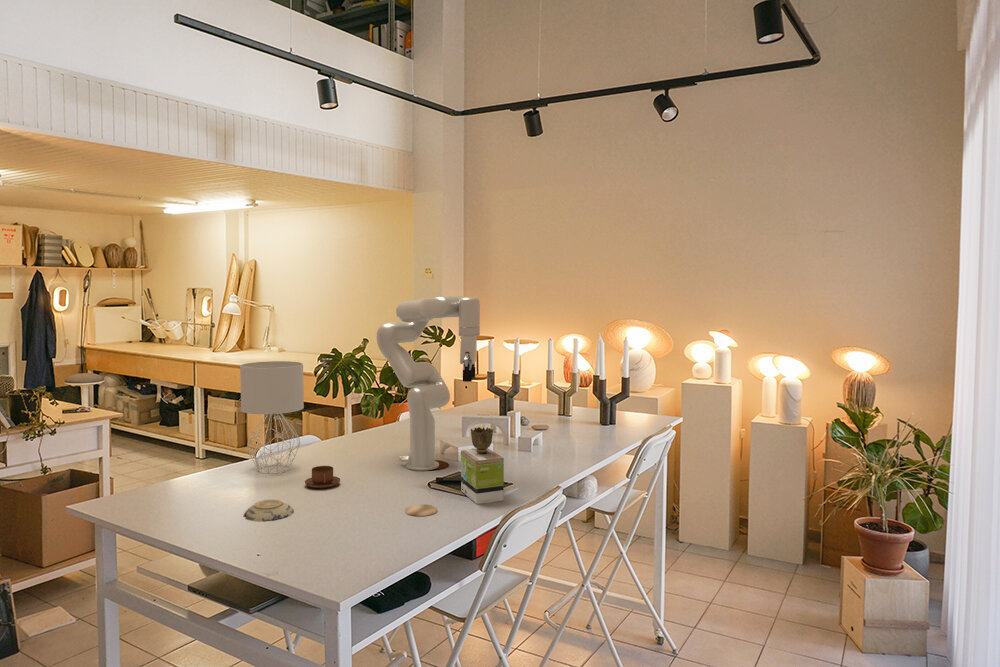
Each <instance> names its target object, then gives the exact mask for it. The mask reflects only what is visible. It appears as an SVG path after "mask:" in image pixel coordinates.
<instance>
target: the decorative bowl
mask: <svg viewBox="0 0 1000 667" xmlns="http://www.w3.org/2000/svg"><path fill="white" fill-rule="evenodd" d="M294 513H295V512H294V509H293V507H292V506H291V505H290V504H288V503H286V502H283V501H282V500H280V499H263V500H260V501H257V502H255V503H254V504H252V506H249V507H248V508H247V509H246V510H245V512H244V514H243V515H242V516H243V517H244V518H245V520H248V521H251V522H259V523H262V522H274V521H279V520H283V519H286V518H288V517H291V516H292V515H293V514H294Z"/></svg>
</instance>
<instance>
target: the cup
mask: <svg viewBox="0 0 1000 667" xmlns="http://www.w3.org/2000/svg"><path fill="white" fill-rule="evenodd" d="M493 434H494V429H493V428H491V427H489V428H488V427H486V428H485V427H480V426H478V427H474V429H473V428H470V436H471V443H472V446H473V447H474V449H476V452H477V453H479V454H484V453H487V448H488V449H489V448H490V446H491V445H492V441H493Z"/></svg>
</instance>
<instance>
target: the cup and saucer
mask: <svg viewBox="0 0 1000 667" xmlns="http://www.w3.org/2000/svg"><path fill="white" fill-rule="evenodd" d="M340 482H341V478H340V477H337V476H334V467H333V466H331V465H318V466H314V467H312V468H311V477H309V478H307V479H305V480H304V483H305V485H306V486H307V487H310V488H313V489H314V488H315V489H327V488H331V487H332V488H333V487H335V486H337V485H338V484H339V483H340Z"/></svg>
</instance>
